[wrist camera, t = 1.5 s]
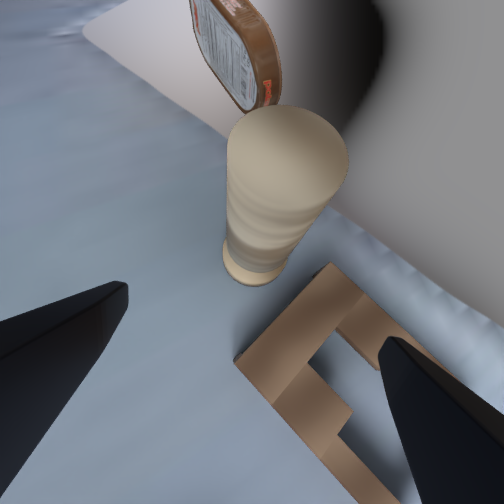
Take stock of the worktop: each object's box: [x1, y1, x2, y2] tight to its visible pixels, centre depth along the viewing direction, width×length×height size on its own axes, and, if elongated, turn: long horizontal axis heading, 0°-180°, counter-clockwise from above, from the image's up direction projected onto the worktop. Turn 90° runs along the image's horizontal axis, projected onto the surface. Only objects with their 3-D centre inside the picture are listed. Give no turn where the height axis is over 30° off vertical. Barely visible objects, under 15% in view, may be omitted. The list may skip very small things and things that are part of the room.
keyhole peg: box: [223, 105, 349, 287], centre depth 16 cm, size 6×6×13 cm
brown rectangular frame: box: [233, 261, 459, 504], centre depth 18 cm, size 16×11×3 cm, turn 45°
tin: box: [189, 0, 282, 114], centre depth 26 cm, size 15×3×8 cm, turn 31°
